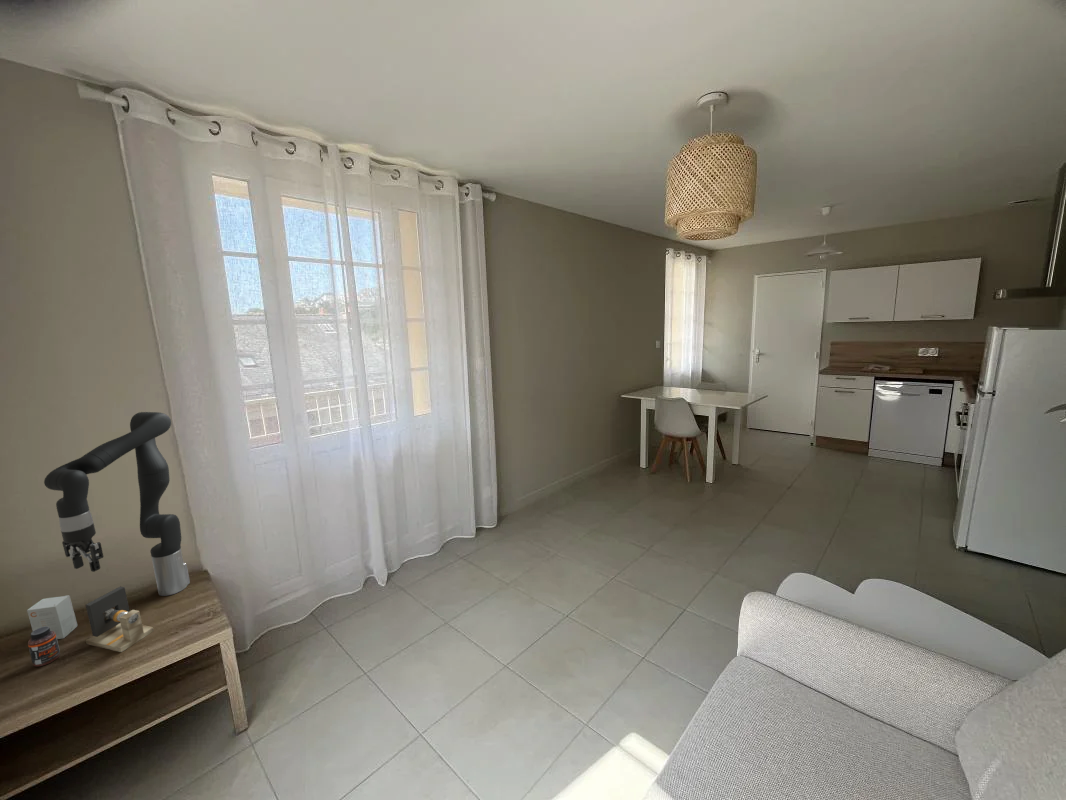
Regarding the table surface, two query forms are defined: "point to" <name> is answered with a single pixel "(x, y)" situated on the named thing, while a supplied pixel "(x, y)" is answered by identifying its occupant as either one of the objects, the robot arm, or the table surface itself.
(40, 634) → the supplement bottle
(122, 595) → the dark grey flat block
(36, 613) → the small box
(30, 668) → the table surface
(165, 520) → the robot arm
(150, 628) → the pipe stand
